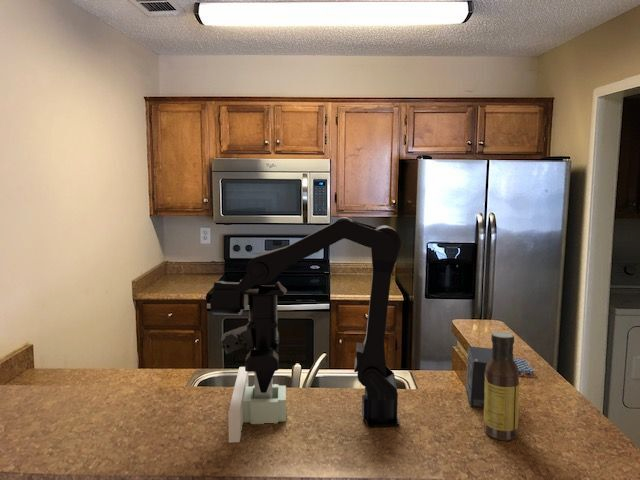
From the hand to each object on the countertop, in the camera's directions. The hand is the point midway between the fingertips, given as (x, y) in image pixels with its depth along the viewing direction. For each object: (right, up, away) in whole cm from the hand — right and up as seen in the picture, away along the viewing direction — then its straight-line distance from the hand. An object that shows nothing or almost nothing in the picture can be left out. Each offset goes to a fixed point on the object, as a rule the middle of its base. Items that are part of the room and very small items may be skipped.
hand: (263, 388), depth 98 cm
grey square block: (0, -2, 0) cm, 2 cm away
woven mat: (+62, -4, +26) cm, 68 cm away
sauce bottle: (+47, -7, -7) cm, 48 cm away
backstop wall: (-5, -6, 0) cm, 8 cm away
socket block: (0, -6, +1) cm, 6 cm away
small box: (+48, -5, +8) cm, 49 cm away
